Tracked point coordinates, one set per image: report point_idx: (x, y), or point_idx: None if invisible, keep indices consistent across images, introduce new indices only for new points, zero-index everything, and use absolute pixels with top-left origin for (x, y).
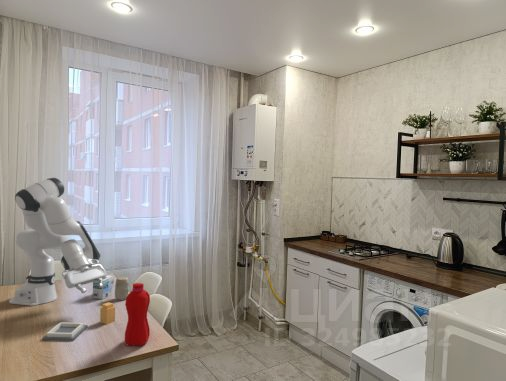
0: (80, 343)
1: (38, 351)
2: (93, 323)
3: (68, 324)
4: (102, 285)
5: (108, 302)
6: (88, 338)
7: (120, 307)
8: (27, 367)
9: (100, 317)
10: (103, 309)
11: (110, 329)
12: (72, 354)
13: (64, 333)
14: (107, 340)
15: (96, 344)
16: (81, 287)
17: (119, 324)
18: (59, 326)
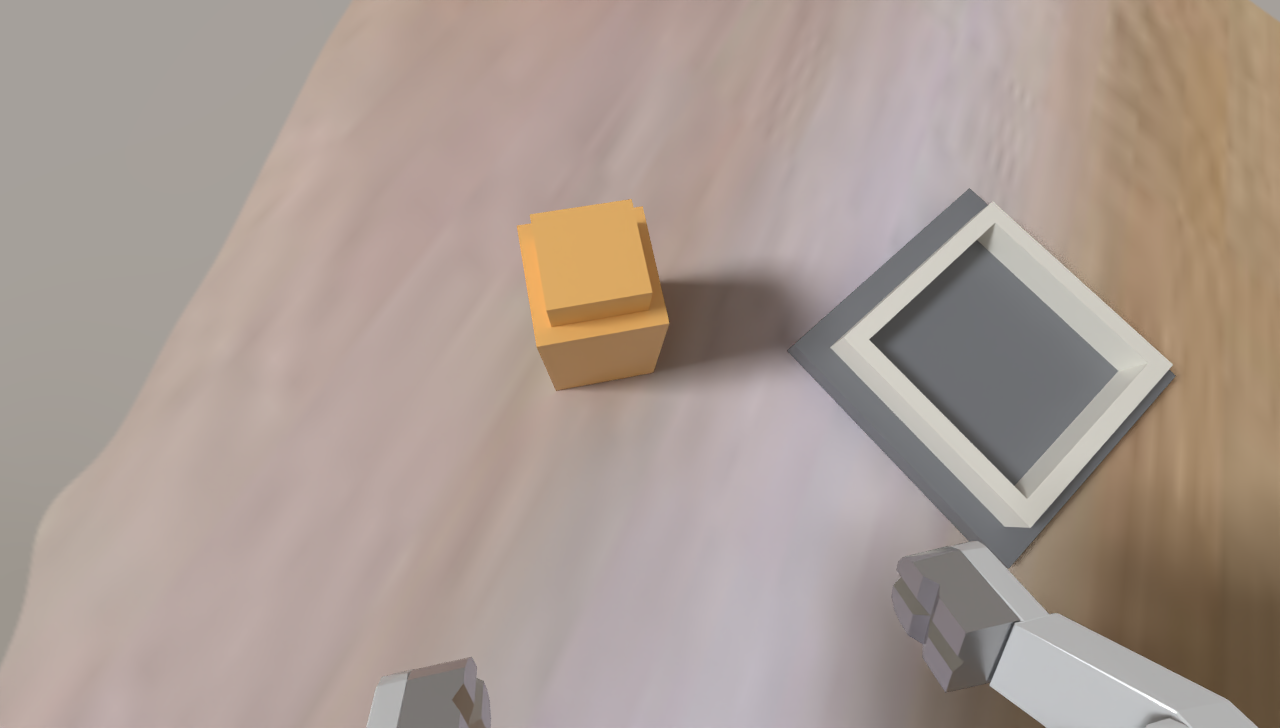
0: (925, 131)
1: (1188, 223)
2: (712, 393)
3: (959, 439)
4: (405, 677)
5: (552, 299)
6: (855, 159)
7: (267, 605)
8: (1253, 83)
9: (656, 356)
10: (655, 270)
11: (659, 176)
12: (1007, 39)
13: (1043, 248)
14: (762, 43)
15: (843, 46)
16: (1090, 642)
17: (553, 206)
18: (1030, 478)
